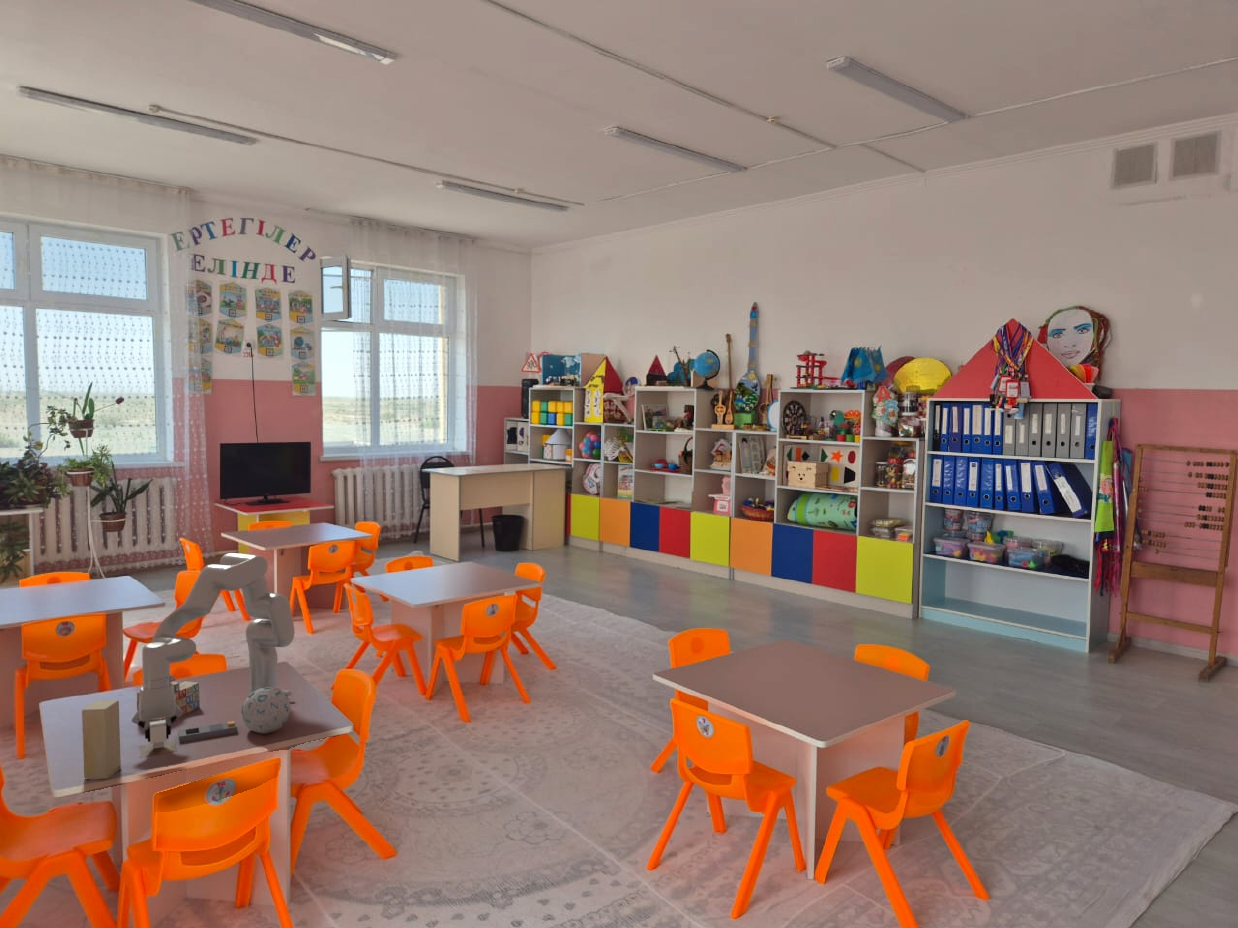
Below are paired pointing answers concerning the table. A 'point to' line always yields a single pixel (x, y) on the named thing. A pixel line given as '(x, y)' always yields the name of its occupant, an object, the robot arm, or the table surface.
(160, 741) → the block
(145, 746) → the pad
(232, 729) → the power strip
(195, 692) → the stack of blocks
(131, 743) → the table surface
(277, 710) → the puzzle ball
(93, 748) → the tall wooden block
